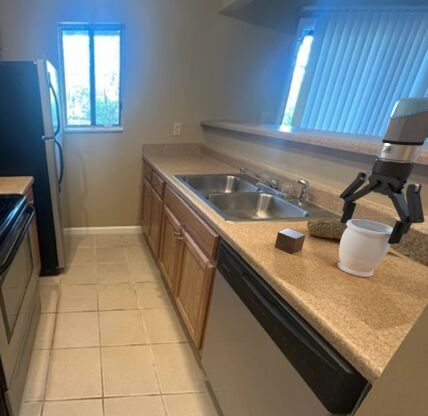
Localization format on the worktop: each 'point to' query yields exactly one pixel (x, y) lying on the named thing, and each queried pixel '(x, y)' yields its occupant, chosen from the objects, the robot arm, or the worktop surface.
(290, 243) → the walnut block
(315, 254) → the worktop surface
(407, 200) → the robot arm
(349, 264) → the jar
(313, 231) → the rough brown rock
